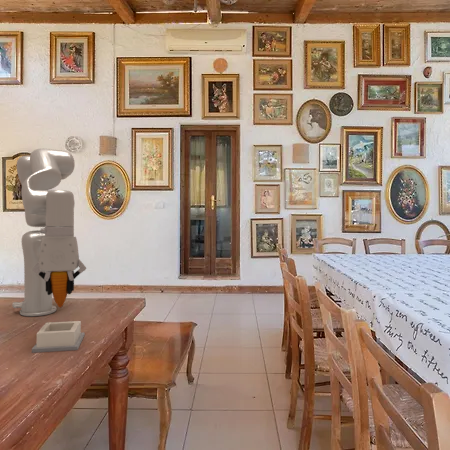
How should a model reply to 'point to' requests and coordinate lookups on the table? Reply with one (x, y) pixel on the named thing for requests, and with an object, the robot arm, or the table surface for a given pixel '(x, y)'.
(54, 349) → the holder
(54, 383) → the table surface
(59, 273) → the carrot
